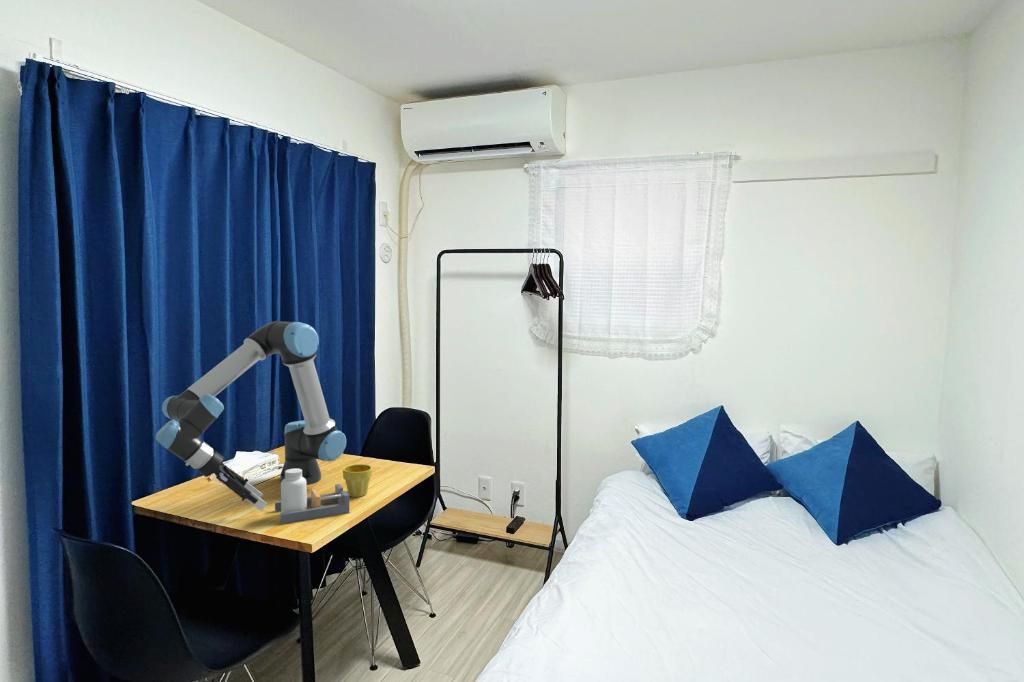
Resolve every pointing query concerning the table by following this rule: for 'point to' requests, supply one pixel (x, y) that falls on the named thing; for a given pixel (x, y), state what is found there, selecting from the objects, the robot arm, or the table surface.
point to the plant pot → (357, 479)
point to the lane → (318, 508)
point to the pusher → (319, 498)
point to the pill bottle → (293, 491)
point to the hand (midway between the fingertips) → (261, 502)
